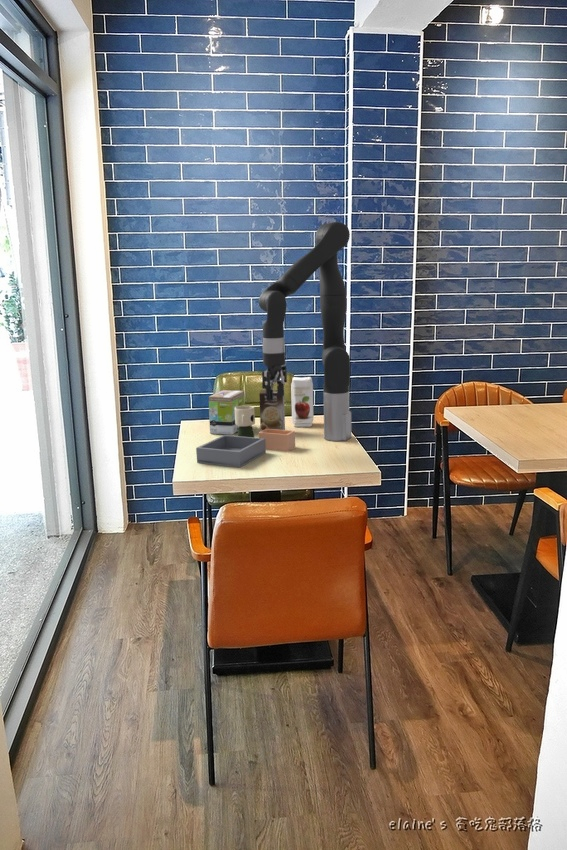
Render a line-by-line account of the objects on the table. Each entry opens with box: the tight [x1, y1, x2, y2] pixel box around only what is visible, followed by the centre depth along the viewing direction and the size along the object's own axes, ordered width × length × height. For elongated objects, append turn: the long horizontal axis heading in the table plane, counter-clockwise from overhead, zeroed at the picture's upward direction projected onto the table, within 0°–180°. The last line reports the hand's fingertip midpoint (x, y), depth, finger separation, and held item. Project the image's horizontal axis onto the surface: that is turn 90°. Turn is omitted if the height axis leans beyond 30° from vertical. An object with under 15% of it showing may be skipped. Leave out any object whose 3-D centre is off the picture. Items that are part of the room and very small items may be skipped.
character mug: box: [235, 405, 256, 438], centre depth 235 cm, size 11×7×13 cm, turn 179°
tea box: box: [208, 389, 246, 435], centre depth 254 cm, size 15×10×15 cm
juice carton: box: [290, 376, 314, 428], centre depth 257 cm, size 8×9×19 cm
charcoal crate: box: [195, 434, 267, 468], centre depth 217 cm, size 16×18×5 cm
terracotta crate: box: [258, 429, 296, 452], centre depth 227 cm, size 11×6×6 cm, turn 65°
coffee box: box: [259, 389, 286, 432], centre depth 247 cm, size 9×6×16 cm
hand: (275, 398), depth 224 cm, fingers open, 8 cm apart
